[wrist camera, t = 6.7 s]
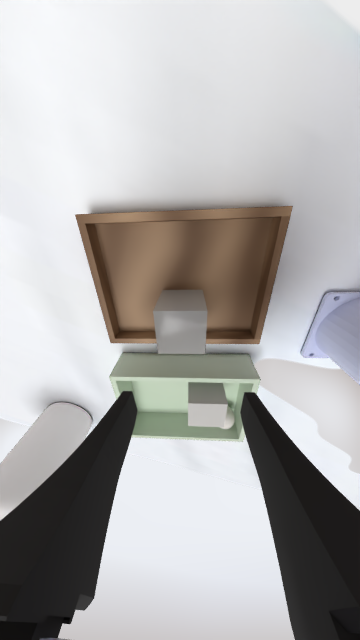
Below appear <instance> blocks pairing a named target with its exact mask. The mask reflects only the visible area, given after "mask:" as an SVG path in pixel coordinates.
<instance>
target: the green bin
mask: <svg viewBox="0 0 360 640" xmlns="http://www.w3.org/2000/svg"><path fill="white" fill-rule="evenodd" d="M109 378H110V381H111V384H112V387H113V390H114V393H115V396H116V399H118V397H119V396H120V394H121V393H122V392H123V391H133V395H134V399H135V403H136V406H137V410H138V411H137V416H136V421H135V426H134V430H133V433H132V436H131V437H135V438H160V439H185V440H211V441H236V442H243V440H244V436H245V432H244V428H243V424H242V419H241V414H240V411H241V406H242V401H243V396H244V392H255V393H256V394H257V391H258V387H259V384H260V380H261V379H260V377H259V375H258V373H257V371H256V369H255V367H254V365H253V363H252V360H251V358H250V356H249V354H158V353H122V354H121V356H120V358H119V360H118V362H117V363H116V365H115V367H114V369H113V371H112V372H111V374H110V376H109ZM188 382H208V383H223V385H224V390H225V394H226V399H227V403H228V406H229V407H230V408H231V409H232V411H233V412H234V415H235V422H234V424H233V426H232V427H231V428H229V429H222V428H220V427H201V426H188Z"/></svg>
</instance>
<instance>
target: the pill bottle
mask: <svg viewBox="0 0 360 640" xmlns="http://www.w3.org/2000/svg"><path fill="white" fill-rule="evenodd" d="M91 424H92V419H91V417H90V415H89V414H88V413H87V412H86V411H85V410H84V409H82V408H80V407H78V406H76V405H73V404H70V403H63V402H59V403H54V404H51V405H50V406H48V407H47V408H46V409H45V410H44V411H43V413H42V414H41V415H40V416H39V417H38V419H37V420H36V421H35V422H34V423H33V425H32V426H31V427H30V428H29V430H28V431H27V432H26V433H25V434H24V436H23V437H22V438H21V439H20V441H19V442H18V443H17V444H16V445H15V447H14V448H13V449H12V450H11V451H10V453H9V454H8V455H7V456H6V458H5V459H4V460H3V461H2V462H1V464H0V520H2V519H3V518H4V517H5V516H6V515H8V514H9V513H10V512H11V511H12V510H13V509H15V508H16V507H17V506H18V505H19V504H20V503H21V502H22V501H23V500H25V499H26V498H27V497H28V496H29V495H30V494H31V493H32V492H33V491H35V490H36V489H37V488H38V487H39V486H40V485H41V484H42V483H43V482H44V481H45V480H46V479H47V478H48V477H50V476H51V475H52V474H53V473H54V472H55V471H56V470H57V469H58V468H59V467H60V466H61V465H62V464H63V463H64V462H65V461H66V460H67V458H68V457H69V456H70V455H71V454H72V453H73V452H74V451H75V450H76V449H77V448H78V447H79V446H80V444H81V443H82V442H83V441H84V439H85V437H86V435H87V433H88V431H89V429H90V427H91Z"/></svg>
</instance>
